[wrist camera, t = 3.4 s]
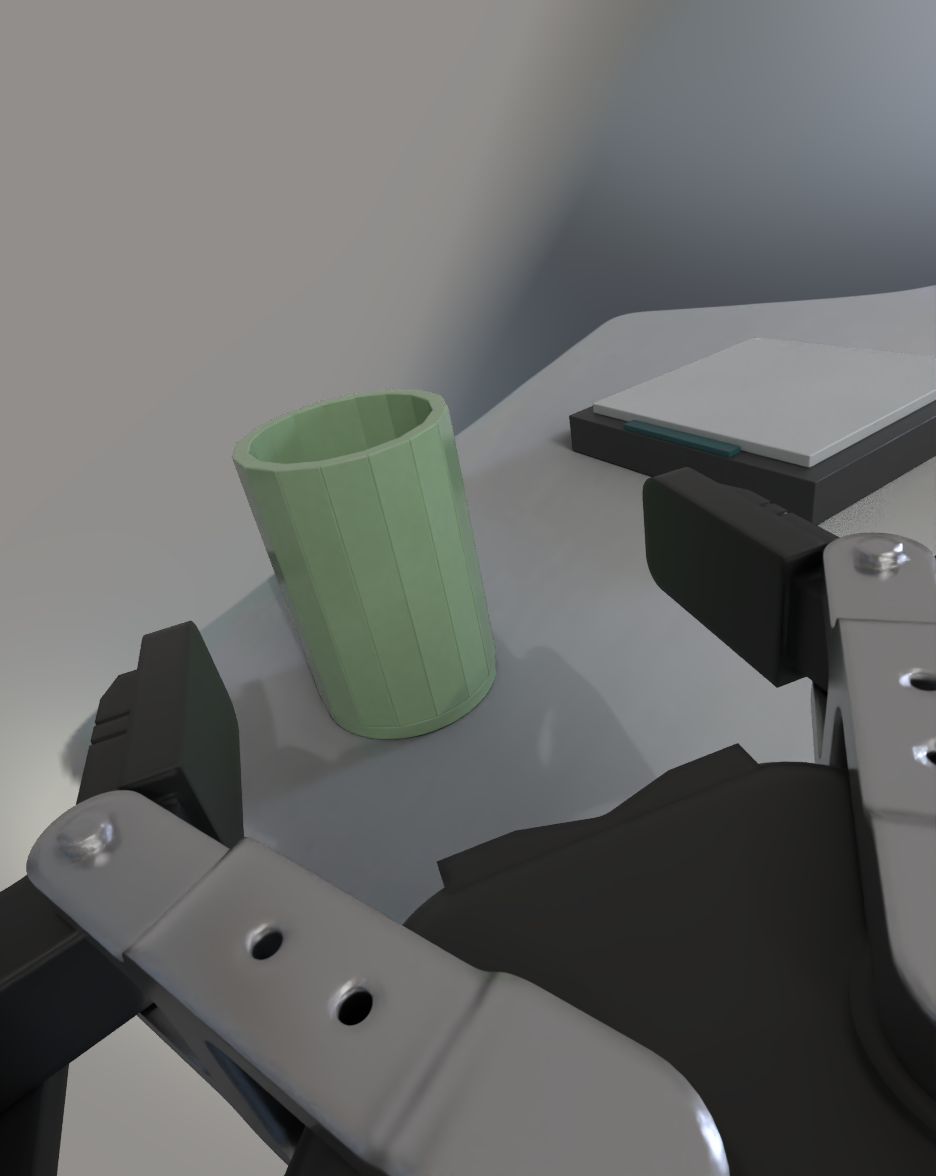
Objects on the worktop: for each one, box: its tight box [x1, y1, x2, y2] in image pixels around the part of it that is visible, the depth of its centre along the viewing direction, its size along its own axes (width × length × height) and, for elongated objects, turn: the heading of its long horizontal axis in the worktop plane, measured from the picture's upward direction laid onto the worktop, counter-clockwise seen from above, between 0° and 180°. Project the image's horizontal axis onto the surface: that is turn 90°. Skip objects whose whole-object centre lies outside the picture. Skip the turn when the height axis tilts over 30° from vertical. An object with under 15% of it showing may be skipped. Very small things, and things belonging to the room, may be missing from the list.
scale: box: [569, 337, 936, 525], centre depth 39 cm, size 16×16×3 cm
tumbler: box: [232, 389, 497, 739], centre depth 24 cm, size 7×7×10 cm
